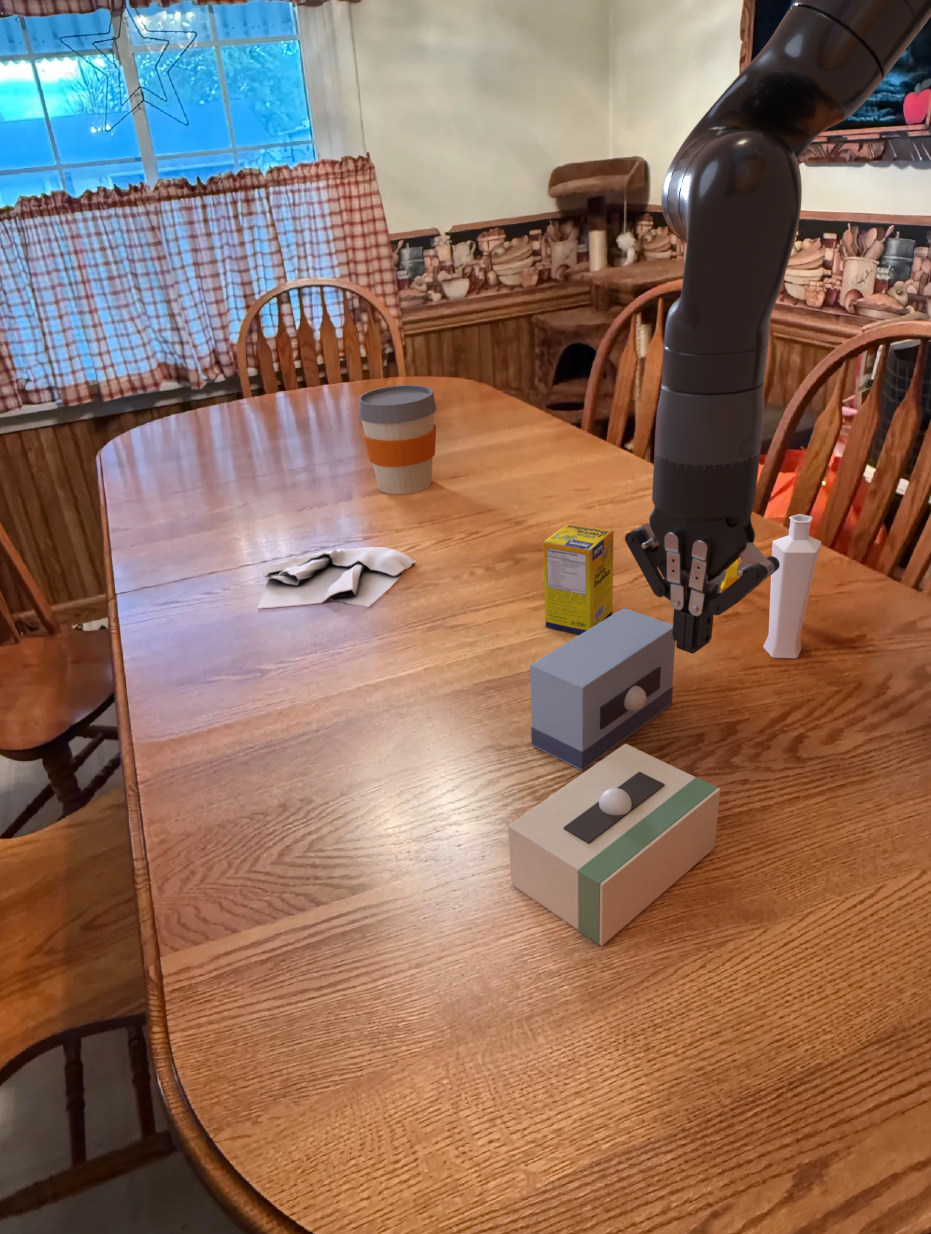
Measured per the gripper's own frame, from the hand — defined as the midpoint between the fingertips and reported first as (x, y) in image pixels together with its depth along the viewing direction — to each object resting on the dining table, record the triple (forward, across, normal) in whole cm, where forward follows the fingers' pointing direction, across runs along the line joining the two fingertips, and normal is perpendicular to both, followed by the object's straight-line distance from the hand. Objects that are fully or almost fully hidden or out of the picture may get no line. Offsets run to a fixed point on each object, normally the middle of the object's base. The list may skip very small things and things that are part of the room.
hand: (690, 647), depth 75 cm
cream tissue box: (+9, -8, +15) cm, 19 cm away
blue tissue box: (+12, +9, 0) cm, 15 cm away
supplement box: (+12, +24, -15) cm, 31 cm away
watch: (+12, +16, -33) cm, 39 cm away
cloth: (+12, +58, -4) cm, 59 cm away
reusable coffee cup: (+12, +77, -35) cm, 85 cm away
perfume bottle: (+12, +3, -23) cm, 26 cm away
